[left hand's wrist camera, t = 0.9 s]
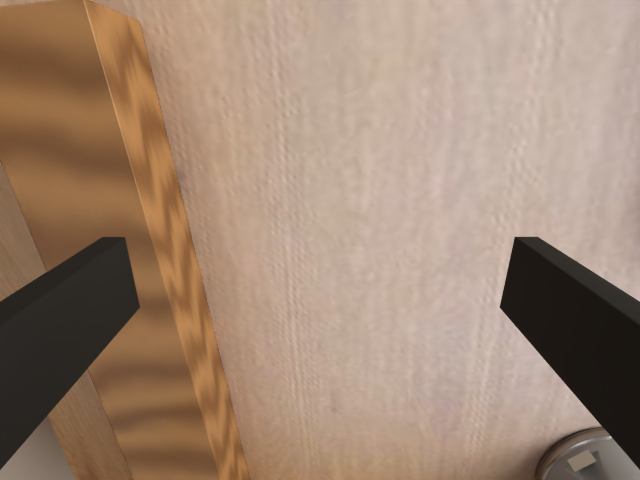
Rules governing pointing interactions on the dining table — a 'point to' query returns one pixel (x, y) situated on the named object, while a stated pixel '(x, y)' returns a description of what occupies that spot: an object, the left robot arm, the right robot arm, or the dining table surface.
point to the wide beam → (117, 226)
